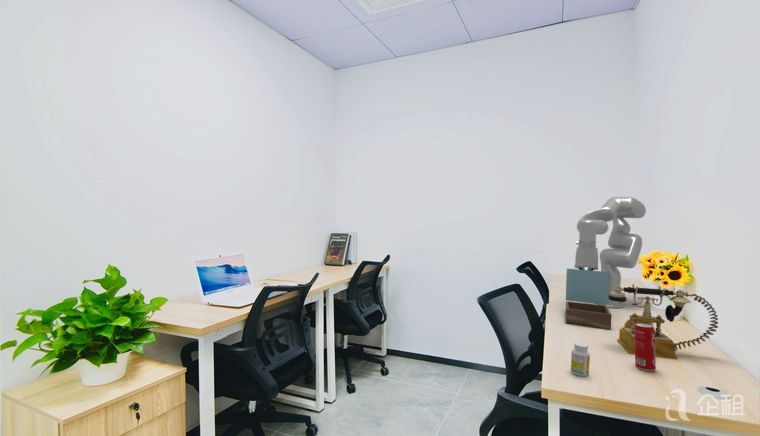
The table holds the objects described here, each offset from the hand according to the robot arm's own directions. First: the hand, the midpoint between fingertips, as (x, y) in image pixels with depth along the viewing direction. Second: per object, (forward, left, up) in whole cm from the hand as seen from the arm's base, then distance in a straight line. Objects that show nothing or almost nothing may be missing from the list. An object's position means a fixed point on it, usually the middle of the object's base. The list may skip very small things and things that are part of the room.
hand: (585, 280), depth 192 cm
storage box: (+11, +9, -17) cm, 23 cm away
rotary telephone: (+18, +42, -18) cm, 49 cm away
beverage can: (+41, +50, -18) cm, 67 cm away
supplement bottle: (+65, +43, -18) cm, 80 cm away
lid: (+4, +3, -2) cm, 6 cm away
